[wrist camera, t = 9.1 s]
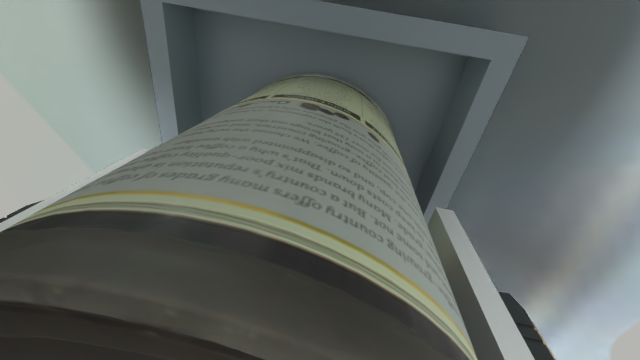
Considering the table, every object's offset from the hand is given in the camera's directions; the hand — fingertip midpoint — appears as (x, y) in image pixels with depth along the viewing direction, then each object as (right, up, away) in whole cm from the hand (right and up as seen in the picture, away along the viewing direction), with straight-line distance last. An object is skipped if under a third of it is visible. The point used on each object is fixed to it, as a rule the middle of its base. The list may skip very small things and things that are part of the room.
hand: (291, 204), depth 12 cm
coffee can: (+1, +3, +5) cm, 6 cm away
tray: (+1, +3, +5) cm, 6 cm away
